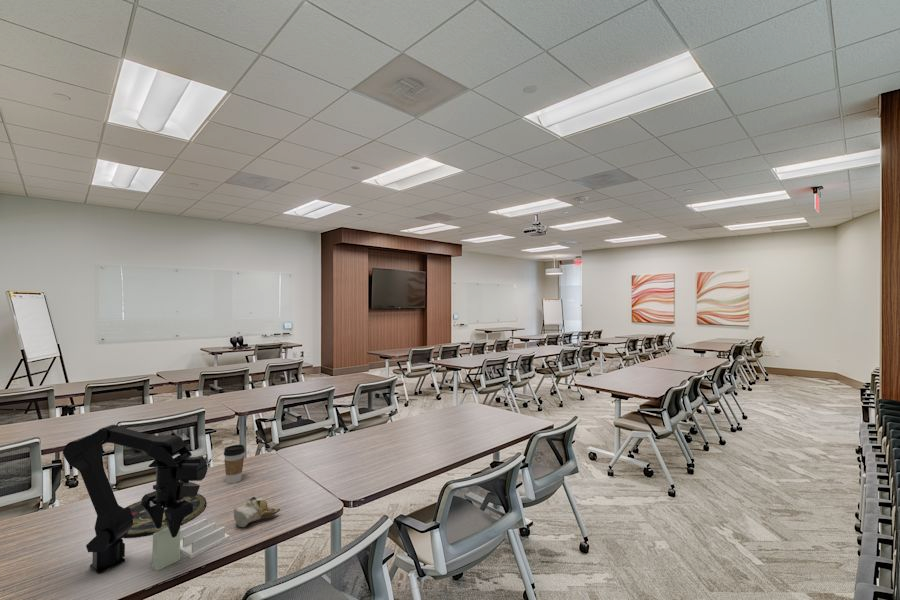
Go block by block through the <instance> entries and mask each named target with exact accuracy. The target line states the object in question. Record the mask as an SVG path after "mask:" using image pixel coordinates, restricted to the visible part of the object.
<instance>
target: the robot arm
mask: <svg viewBox="0 0 900 600" xmlns="http://www.w3.org/2000/svg"><path fill="white" fill-rule="evenodd" d="M107 443H109V444H114V445H118V446H122V447H126V448H130V449H134V450H138V451H141V452H144V453H146V455H147V456H148V457H149V458H151V459H154V460H153V461H152V462H151V463H149V465H148V468H156V469H155V470H156V471H155V472H156V474H155V475H156V476H155V484H153V485H152V490H154V491H152V492H151V491H150V492H148V493H145V494H144V495H143V496H142V497H141V499H140V501H141V505H143V506H144V509H145V510H146V512H147V513H148V515H149V516H150V518H151V520H152V521H153V523H154V525H155V527H156V528H157V529H158V528H161V525H162V520H163V513H164V508H165V507H167V509H166V510H165V516H166V518H165V521H166V524H167V526H168V529H169V531H170V534H171V536H172V538H174V537H176V536H177V534H178V531H179V529H180V530H181V526H182V525H181V523H182V521H183V519H184V518H185V517H186V516H187V515H189V514H190V513H192V512H193V511H194V505H193V504H192V503H190V502H188V501H185V500H184V501H181V502H179V503H178V502H177V500H181V499H184V496H193V497H195V496H197V494H199V490H200V487H201V484H198V483H195V481H196V482H198V481H199V482H200V481H203V480H204V479H205V477H206V476H207V473H208V468H209V465H208V462H207V461H206V460H204V456H192V455H193V454H192V453H191V451H190V450H189V448H188V447H187V446H186V444H185V443H184V440H183V437H181V436H179V435H172V434H171V435H170V434H163V435H162V434H161V435H153V434H150V433H145V432H141V431H137V430H133V429H129V428H127V427H126V428H125V427H121V426H119V425H118V424H111V425H108V426H104V427H101V428H100V429H98V430H97V431H95V432H93V433H91V434H89V435H86V436H83V437H81V438H78V439H75V440H72V441H70V442H68V443H66V444H65V446H64V448H63V449H62V454H63V457H64V459H65V460H66V462H67V463H68V466H69V467H72V468H74V469H75V470H77V471H79V473H80V476H81V478H82V480H83V484H84V486H85V488H86V491H87V493H88V496H89V498H90V501H91V503H92V505H93V509H94V511H95V514H96V520H95V524H94V532H95V536H94V537H93V538H91V540H89V542H88V543H87V544H86V545H85V546H86V550H87V553H92V559H91V560H92V563H91V564H89V568H90V569H92V570H93V572H95V573H97V574H101V573H104V572H106V571H108V570H110V569H113V568H114V567H117V566H119V565H121V564H123V563H125V562H126V559H125V556H126V554H125V553H126V552H125V551H126V543H124V538H123V537H125V536H126V535H127V534H128V531H129V530H130V529H131V527H132V525H133V518H134V516H133V515H132V514H131V510H130V508H129V507H127V506H126V507H123V506H121V505H119V503H118V501H117V499H116V496H115V494H114V491H113V488H112V486H111V483H110V481H109V479H108V476H107V473H106V471H105V469H104V466H103V464H102V458H103V455H104V448H103V445H105V444H107ZM174 456H175V457H174ZM124 508H125V509H124Z"/></svg>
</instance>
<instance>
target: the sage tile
mask: <svg viewBox="0 0 900 600" xmlns="http://www.w3.org/2000/svg"><path fill="white" fill-rule="evenodd" d="M180 530H181V528H180V529H179V531H178V534H177V536H176V537H174V538H172V536H171V534H170V531H169V529H168V527H167V528H165V529H163V530H160V531H158V532H156V533H153V535H152V561H151V562H152V565H151V566H152V568H153V570H155V571H157V572H159V571H161V570H162V569H164V568H167V567H168V566H170V565H173V564H174V563H176V562H178V561H180V560H181V557H180V555H181V552H180Z"/></svg>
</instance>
